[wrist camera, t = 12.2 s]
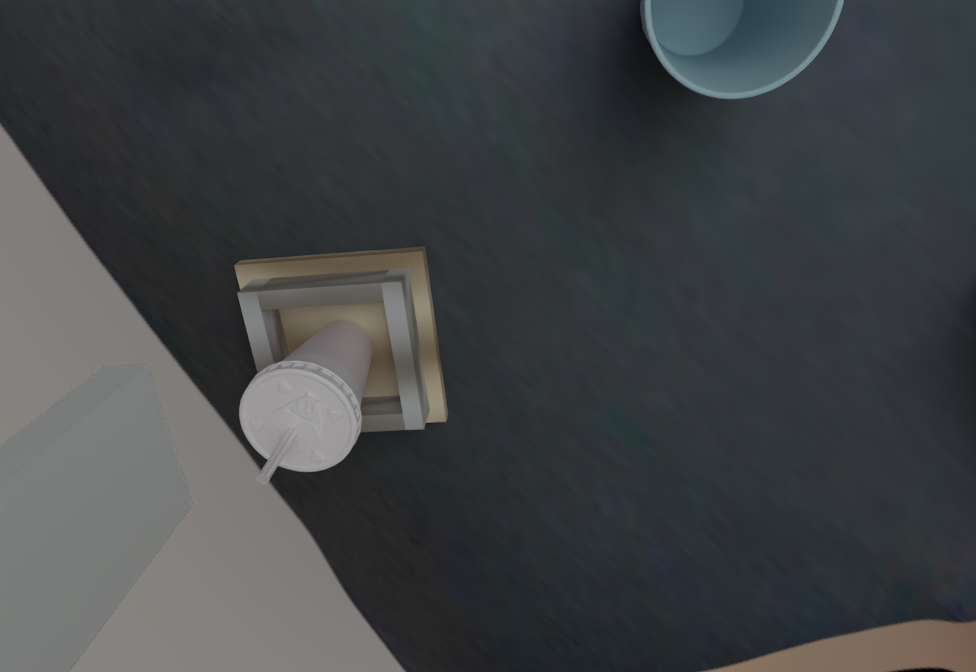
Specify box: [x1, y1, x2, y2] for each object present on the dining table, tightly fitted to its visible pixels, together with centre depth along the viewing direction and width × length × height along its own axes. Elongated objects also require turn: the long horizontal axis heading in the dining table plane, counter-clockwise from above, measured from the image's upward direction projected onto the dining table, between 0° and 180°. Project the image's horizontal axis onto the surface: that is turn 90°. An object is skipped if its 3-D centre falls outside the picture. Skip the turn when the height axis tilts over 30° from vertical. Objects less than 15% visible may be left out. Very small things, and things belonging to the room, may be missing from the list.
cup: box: [640, 0, 844, 99], centre depth 32 cm, size 8×8×10 cm
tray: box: [234, 247, 448, 432], centre depth 44 cm, size 12×12×4 cm
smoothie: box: [239, 320, 373, 484], centre depth 39 cm, size 6×6×14 cm
